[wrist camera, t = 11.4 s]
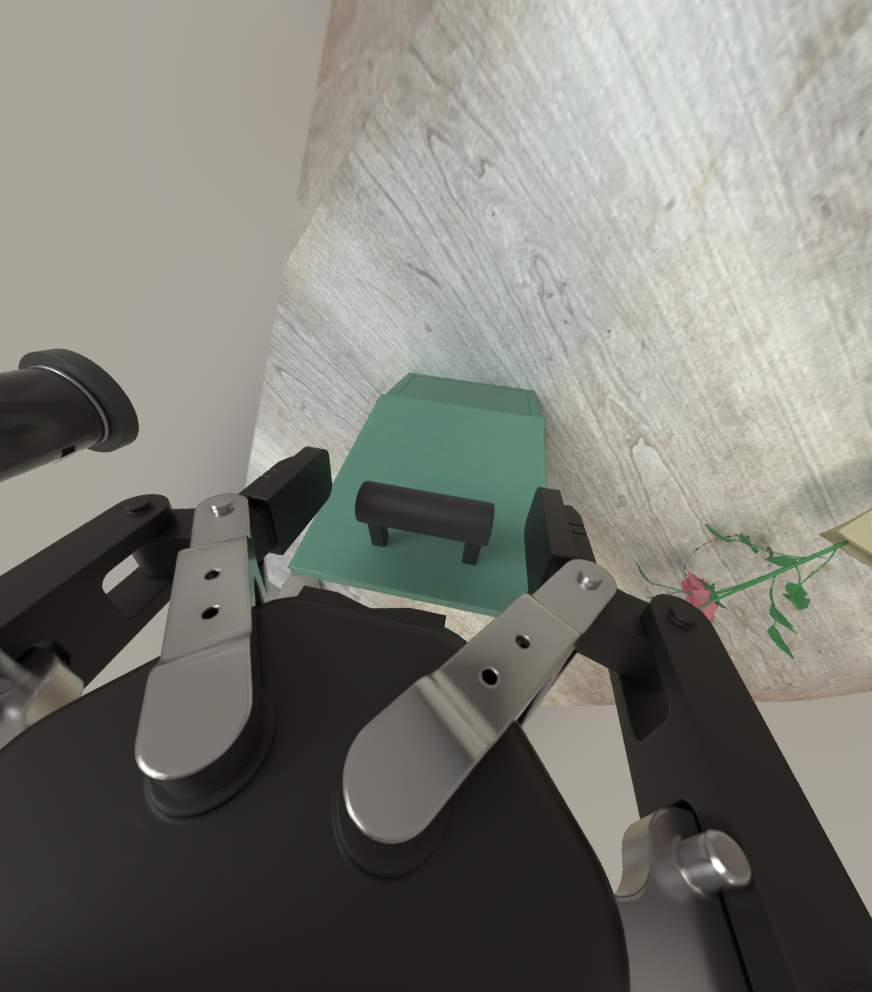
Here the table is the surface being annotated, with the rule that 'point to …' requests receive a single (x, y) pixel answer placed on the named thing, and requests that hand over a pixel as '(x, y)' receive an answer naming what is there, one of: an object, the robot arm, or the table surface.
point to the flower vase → (858, 537)
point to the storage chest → (468, 394)
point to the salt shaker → (297, 585)
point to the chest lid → (431, 506)
